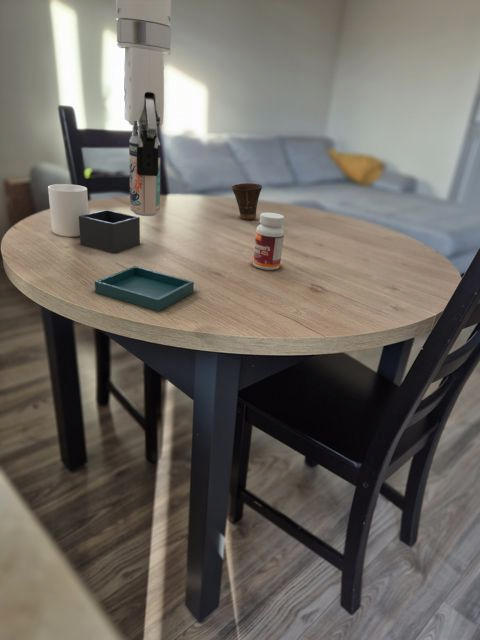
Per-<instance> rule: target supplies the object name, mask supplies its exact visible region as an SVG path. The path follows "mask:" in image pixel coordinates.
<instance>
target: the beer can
mask: <svg viewBox="0 0 480 640" xmlns="http://www.w3.org/2000/svg"><path fill="white" fill-rule="evenodd" d="M137 147H139V145H138V134H133V135H132V134H131V136H130V138H129V141H128V152H129V153H128V156H129V158H128V159H129V161H128V163H129V208H130V212H132V213H133V214H135V216H137V215H138V216H142V217H154V216H156V215H157V214H159V213H160V212H161V142H160V140H159V139H158V175H157V176H143V175H138V174H137Z"/></svg>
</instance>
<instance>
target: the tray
mask: <svg viewBox="0 0 480 640" xmlns="http://www.w3.org/2000/svg"><path fill="white" fill-rule="evenodd" d="M194 287H195V281H192V280H189V279H184V278H180V277H177V276H174V275H169V274H166V273H163V272H159V271H155V270H151V269H148V268H144V267H141V266H137V265H134V266H131V267H128V268H126V269H123V270H121V271H118V272H116V273H113V274H110V275H108V276H105V277H103V278H100V279H98V280H95V281H94V293H96V294H100V295H102V296H106V297H110V298H112V299H116V300H120V301H123V302H126V303H129V304H133V305H136V306H140V307H143V308H146V309H150V310H153V311H156V312H160V311H162V310H164V309H165V308H168V307H169V306H171V305H172V304H175V303H176V302H178V301H180V300H181V299H183V298H185V297H187V296H189V295H190V294H193V293H194Z"/></svg>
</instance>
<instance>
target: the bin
mask: <svg viewBox="0 0 480 640" xmlns="http://www.w3.org/2000/svg"><path fill="white" fill-rule="evenodd" d="M79 229H80V236H79V240H80V243H79V245H81V246H85V247H89V248H92V249H96V250H99V251H100V250H101V251H105V252H108V253H111V254H116V253H118V252H119V253H120V252H123V251H125V250H129V249H131V248H134V247H136V246H140V245H141V218H140V216H137V215H131V214H127V213H122V212H119V211H115V210H110V209H104V210H100V211H95V212H90V213H89V214H85V215H81V216H79Z"/></svg>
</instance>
